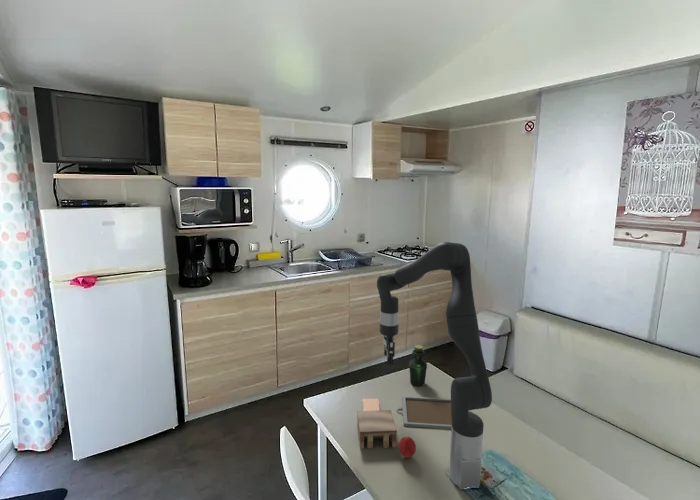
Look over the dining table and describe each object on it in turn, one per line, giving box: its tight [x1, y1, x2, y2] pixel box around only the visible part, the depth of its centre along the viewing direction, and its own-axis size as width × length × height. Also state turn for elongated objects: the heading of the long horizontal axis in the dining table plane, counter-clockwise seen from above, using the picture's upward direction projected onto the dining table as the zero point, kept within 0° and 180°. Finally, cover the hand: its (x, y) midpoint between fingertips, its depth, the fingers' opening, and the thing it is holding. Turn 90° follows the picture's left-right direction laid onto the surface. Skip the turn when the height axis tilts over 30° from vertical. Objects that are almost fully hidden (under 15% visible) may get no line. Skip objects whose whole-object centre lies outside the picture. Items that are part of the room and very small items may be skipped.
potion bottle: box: [408, 344, 428, 388], centre depth 170 cm, size 8×8×18 cm
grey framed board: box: [395, 395, 472, 430], centre depth 148 cm, size 19×2×30 cm
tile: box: [362, 398, 380, 411], centre depth 149 cm, size 13×6×2 cm, turn 0°
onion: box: [397, 435, 417, 459], centre depth 123 cm, size 6×6×8 cm
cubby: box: [356, 409, 398, 449], centre depth 134 cm, size 12×13×6 cm
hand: (388, 359), depth 150 cm, fingers open, 8 cm apart
